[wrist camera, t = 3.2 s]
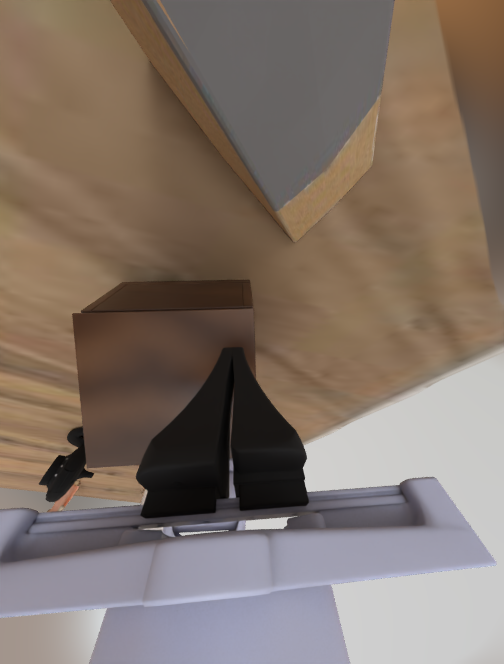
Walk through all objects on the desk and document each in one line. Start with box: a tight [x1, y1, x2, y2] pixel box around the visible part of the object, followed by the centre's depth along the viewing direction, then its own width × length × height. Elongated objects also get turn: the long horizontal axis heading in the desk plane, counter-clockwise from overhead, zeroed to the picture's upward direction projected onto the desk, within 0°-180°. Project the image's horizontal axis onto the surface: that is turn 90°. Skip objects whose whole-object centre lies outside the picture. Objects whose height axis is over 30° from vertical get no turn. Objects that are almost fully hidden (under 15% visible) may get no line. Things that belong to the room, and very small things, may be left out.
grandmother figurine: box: [47, 481, 80, 512], centre depth 45 cm, size 8×4×13 cm, turn 136°
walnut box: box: [81, 280, 253, 313], centre depth 20 cm, size 12×14×6 cm
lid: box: [72, 308, 256, 468], centre depth 14 cm, size 12×14×1 cm
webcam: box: [39, 428, 94, 502], centre depth 33 cm, size 8×8×10 cm
